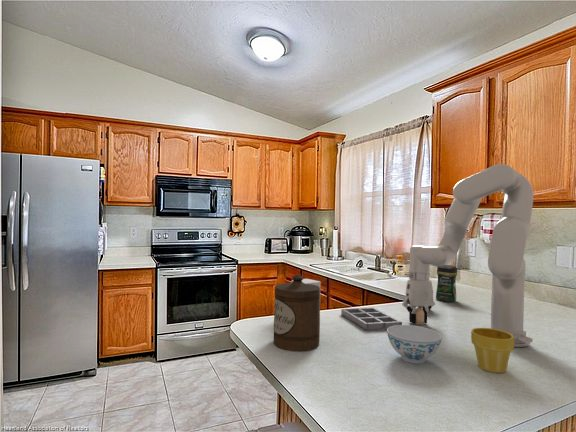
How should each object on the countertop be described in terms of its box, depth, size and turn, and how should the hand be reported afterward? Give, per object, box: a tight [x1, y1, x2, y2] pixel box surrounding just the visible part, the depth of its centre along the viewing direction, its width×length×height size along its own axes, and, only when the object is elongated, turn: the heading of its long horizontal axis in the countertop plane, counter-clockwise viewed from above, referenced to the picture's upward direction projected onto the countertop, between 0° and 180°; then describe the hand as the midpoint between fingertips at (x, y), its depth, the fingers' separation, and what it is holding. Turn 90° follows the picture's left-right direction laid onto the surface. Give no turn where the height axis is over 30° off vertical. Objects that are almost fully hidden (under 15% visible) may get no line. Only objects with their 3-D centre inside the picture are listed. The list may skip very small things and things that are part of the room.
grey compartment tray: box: [340, 307, 403, 332], centre depth 142 cm, size 22×15×2 cm
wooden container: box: [273, 273, 321, 352], centre depth 114 cm, size 15×15×22 cm
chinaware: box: [386, 324, 443, 364], centre depth 104 cm, size 15×15×8 cm
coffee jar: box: [435, 264, 458, 303], centre depth 185 cm, size 10×8×19 cm
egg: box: [414, 307, 425, 326], centre depth 141 cm, size 4×4×6 cm
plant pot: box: [470, 327, 515, 374], centre depth 98 cm, size 10×10×10 cm
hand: (418, 322), depth 141 cm, fingers closed on egg, 4 cm apart
